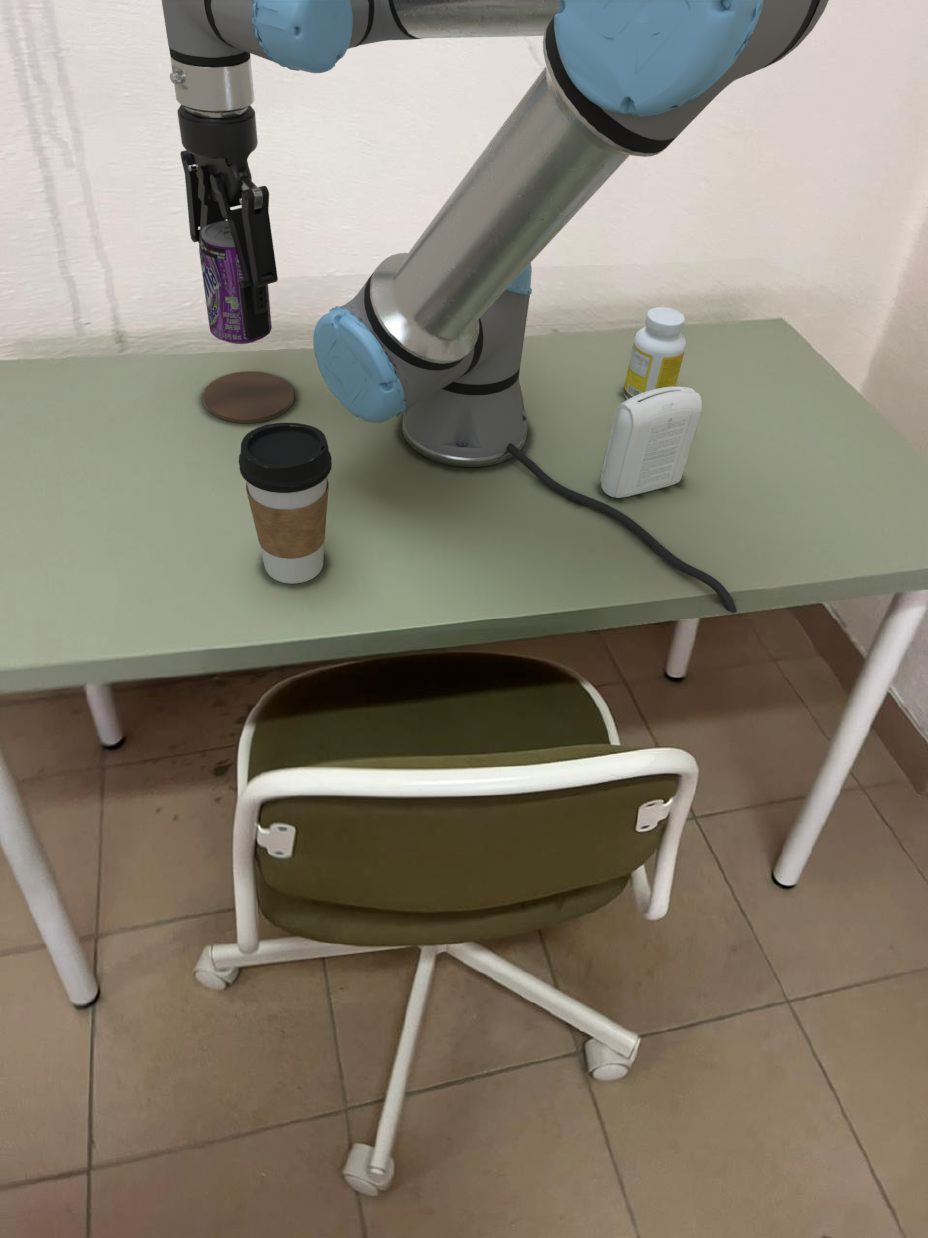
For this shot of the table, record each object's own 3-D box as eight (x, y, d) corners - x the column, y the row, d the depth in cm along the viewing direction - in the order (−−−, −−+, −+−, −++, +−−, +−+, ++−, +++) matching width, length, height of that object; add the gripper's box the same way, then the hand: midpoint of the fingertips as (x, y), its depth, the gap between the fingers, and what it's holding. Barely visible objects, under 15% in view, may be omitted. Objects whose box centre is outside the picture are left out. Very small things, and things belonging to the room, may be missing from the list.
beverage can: (213, 318, 109) (200, 216, 101) (273, 319, 110) (265, 219, 102) (207, 348, 104) (192, 244, 96) (270, 349, 105) (261, 246, 97)
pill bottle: (678, 396, 121) (701, 314, 113) (659, 417, 117) (680, 334, 109) (634, 379, 123) (653, 298, 115) (614, 399, 119) (631, 317, 111)
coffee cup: (321, 599, 90) (314, 476, 79) (239, 583, 90) (221, 459, 80) (346, 545, 95) (342, 424, 85) (268, 531, 96) (256, 408, 86)
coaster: (310, 404, 114) (310, 400, 113) (233, 433, 108) (232, 429, 108) (263, 366, 119) (262, 362, 119) (187, 392, 114) (186, 387, 113)
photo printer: (664, 463, 110) (690, 372, 101) (685, 484, 107) (713, 392, 99) (593, 482, 106) (613, 389, 97) (613, 504, 104) (635, 410, 95)
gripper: (132, 82, 93) (168, 296, 109) (235, 143, 83) (258, 368, 99) (198, 72, 97) (224, 280, 113) (304, 129, 87) (315, 348, 103)
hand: (239, 321), depth 106 cm, fingers closed on beverage can, 7 cm apart
